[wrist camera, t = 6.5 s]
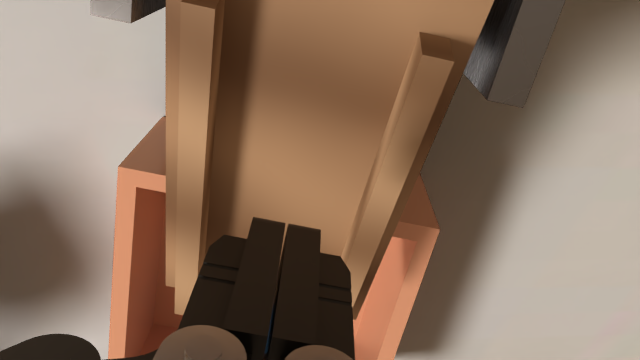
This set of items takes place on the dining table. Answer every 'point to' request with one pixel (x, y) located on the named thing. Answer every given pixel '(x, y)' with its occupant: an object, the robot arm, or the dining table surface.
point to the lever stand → (486, 58)
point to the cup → (159, 300)
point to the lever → (304, 120)
